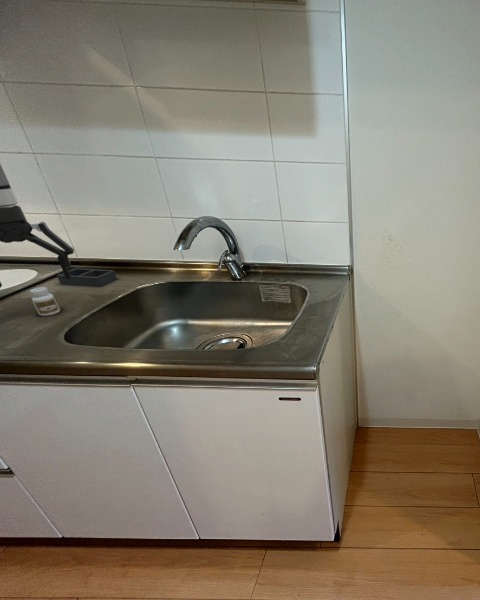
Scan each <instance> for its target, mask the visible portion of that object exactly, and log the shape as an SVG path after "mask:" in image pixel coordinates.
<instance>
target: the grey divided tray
mask: <svg viewBox="0 0 480 600" xmlns="http://www.w3.org/2000/svg"><path fill="white" fill-rule="evenodd" d="M69 272H70V275H71V278H70V279H66V277H65V274H64V272H62V273H59V274H56V277H57V279H58V282H59V284H60V285H63V286H64V285H65V286H79V287H80V286H82V287H97V288H101V287H103V286H105V285H108V284H110V283H112V282H115V281H116V280H118V278H117V275H116V272H115V270H112V269H111V270H110V269H95V268H94V269H93V268H80V267H79V268H78V267H77V268H76V267H75V268H73V269H70V270H69Z"/></svg>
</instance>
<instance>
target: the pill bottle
mask: <svg viewBox="0 0 480 600" xmlns="http://www.w3.org/2000/svg"><path fill="white" fill-rule="evenodd" d="M29 293H30V295H31V296H32V298H31V302H32V304H33V306H34V307H35V310H36V311H37V313H38V315H39V316H42V317H45V316H52V315H55V314H58V313H59V312H60V311H61V308H60V306H59V305H58V302H57V300H56V298H55V296H54V294H52V293H50V291H49V289H48V287H46V286H39V287H35V288H33V289H30V290H29Z"/></svg>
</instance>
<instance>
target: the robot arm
mask: <svg viewBox="0 0 480 600" xmlns="http://www.w3.org/2000/svg"><path fill="white" fill-rule="evenodd" d="M17 204H19V201H18V199H17V196H16V195H15V192H14V190H13V188H12V187H11V184H10V181H9V179H8V178H7V175H6V173H5V170H4V169H3V166H2V164H1V163H0V242H1V243H5V244H11V243H24V241H28V242H30V243H32V244H35V245H36V246H38V247H40V248H43V249H45V250H47V251H48V252H51V253H53V254H55V255H57V257H56V258H57V261H58V263H59V265H60V268H61V270H62V273H64V274H65V277H66V279H70V278H71V275H70V272H69V271H70V270H69V268H71V266H72V263H71V260H70V257H69V256H70V255H73V254H74V253H75V249H74V248H73V247H72V246H71V245H69V244H68V243H67V242H66V241H65V240H63V239H62V238H61V237H60V236H59V235H57V234H56V233H54V232H53V231H52V230H51V229H50V227H48V224H47V223H46V222H44V221H40V222H38V223H32V224H31V223H30V222H28V220H27V217H26V216H25V213H24V211H23V209H22V207H21V206H19V205H17ZM33 229H34V230H37V231H38V232H40V233H43V235H45V236H46V237H47V238H48V239H49V240H51V241H52V242H53V243H55V244H56V245H57V246H56V245H54V244H51V243H50V242H48V241H46V240H43V239H42V238H40V237H39V236H37V235H36V234H33V233H32V230H33ZM2 287H3V284H2V281H0V289H1V288H2Z"/></svg>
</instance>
